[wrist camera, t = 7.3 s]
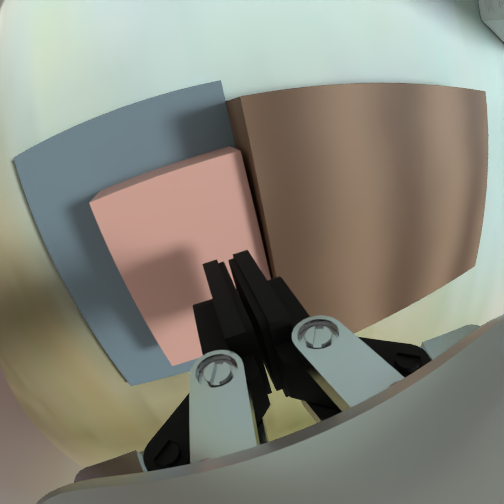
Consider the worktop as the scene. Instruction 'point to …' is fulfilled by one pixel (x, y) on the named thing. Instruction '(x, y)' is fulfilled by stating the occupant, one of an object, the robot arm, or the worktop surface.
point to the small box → (493, 15)
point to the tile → (179, 239)
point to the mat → (103, 176)
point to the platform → (365, 190)
